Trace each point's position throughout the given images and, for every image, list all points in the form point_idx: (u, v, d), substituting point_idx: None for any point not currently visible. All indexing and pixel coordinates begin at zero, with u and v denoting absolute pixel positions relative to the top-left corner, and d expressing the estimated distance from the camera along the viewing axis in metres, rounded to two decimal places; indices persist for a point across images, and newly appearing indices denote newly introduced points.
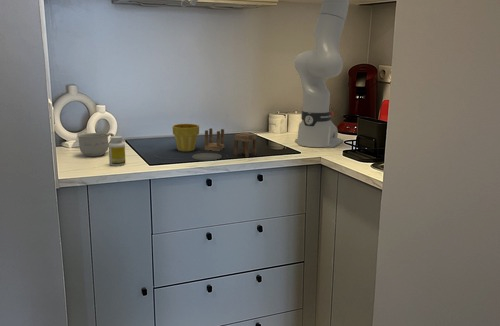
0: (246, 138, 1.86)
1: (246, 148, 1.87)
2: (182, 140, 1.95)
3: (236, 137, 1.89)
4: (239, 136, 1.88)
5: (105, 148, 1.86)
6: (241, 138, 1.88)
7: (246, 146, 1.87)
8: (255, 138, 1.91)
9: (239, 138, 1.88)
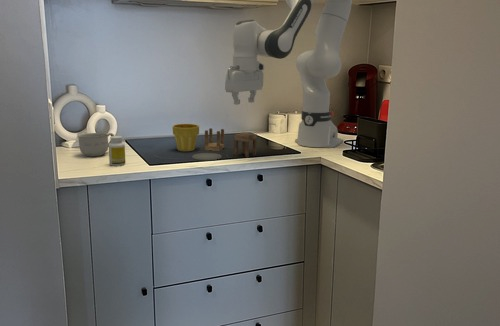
0: (246, 138, 1.86)
1: (246, 148, 1.87)
2: (182, 140, 1.95)
3: (236, 137, 1.89)
4: (239, 136, 1.88)
5: (105, 148, 1.86)
6: (241, 138, 1.88)
7: (246, 146, 1.87)
8: (255, 138, 1.91)
9: (239, 138, 1.88)
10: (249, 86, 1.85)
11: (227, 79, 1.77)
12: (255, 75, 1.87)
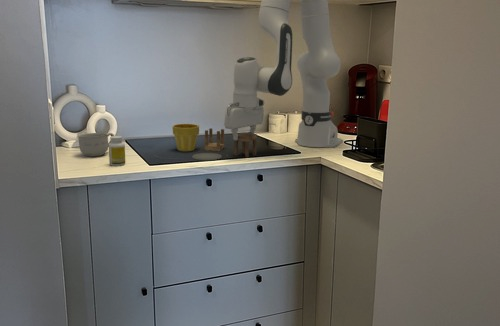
0: (246, 138, 1.86)
1: (246, 148, 1.87)
2: (182, 140, 1.95)
3: None
4: (239, 136, 1.88)
5: (105, 148, 1.86)
6: (241, 138, 1.88)
7: (246, 146, 1.87)
8: (255, 138, 1.91)
9: (239, 138, 1.88)
10: (249, 122, 1.89)
11: (226, 116, 1.81)
12: (255, 111, 1.91)
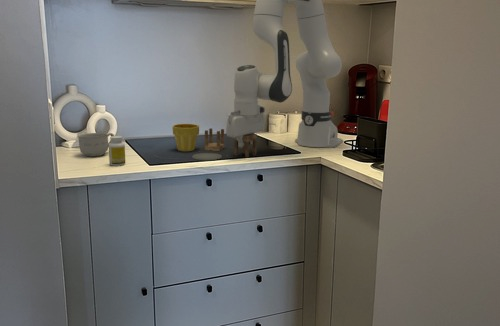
0: (246, 138, 1.86)
1: (246, 148, 1.87)
2: (182, 140, 1.95)
3: None
4: None
5: (105, 148, 1.86)
6: None
7: (246, 146, 1.87)
8: (255, 138, 1.91)
9: None
10: (250, 129, 1.89)
11: (228, 124, 1.82)
12: (256, 118, 1.91)
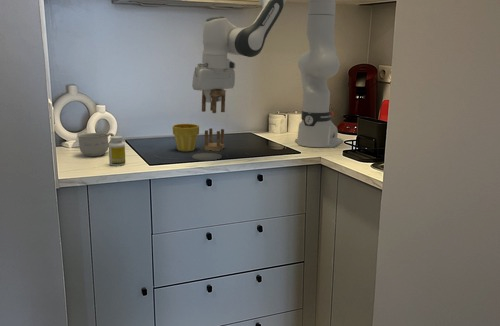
0: (214, 92, 1.78)
1: (213, 103, 1.79)
2: (182, 140, 1.95)
3: None
4: None
5: (105, 148, 1.86)
6: None
7: (214, 101, 1.79)
8: (224, 94, 1.83)
9: None
10: (219, 85, 1.81)
11: (194, 76, 1.74)
12: (225, 73, 1.83)
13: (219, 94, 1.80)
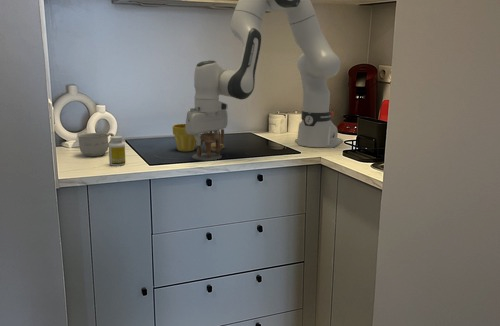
0: (208, 139, 1.82)
1: (208, 149, 1.83)
2: (182, 140, 1.95)
3: None
4: (201, 137, 1.84)
5: (105, 148, 1.86)
6: (203, 139, 1.84)
7: (208, 147, 1.83)
8: (218, 138, 1.86)
9: (201, 139, 1.84)
10: (211, 127, 1.84)
11: (187, 121, 1.77)
12: (218, 115, 1.86)
13: (213, 139, 1.84)
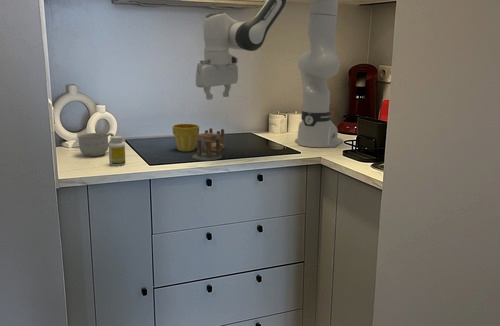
0: (209, 138, 1.83)
1: (208, 149, 1.84)
2: (182, 140, 1.95)
3: (199, 137, 1.85)
4: (201, 136, 1.84)
5: (105, 148, 1.86)
6: (203, 138, 1.84)
7: (208, 147, 1.83)
8: (218, 138, 1.87)
9: (201, 138, 1.85)
10: (222, 80, 1.81)
11: (197, 74, 1.73)
12: (228, 69, 1.83)
13: (214, 139, 1.85)
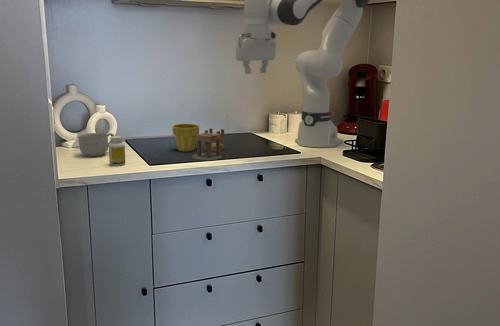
0: (209, 138, 1.83)
1: (208, 149, 1.84)
2: (182, 140, 1.95)
3: (199, 137, 1.85)
4: (201, 136, 1.84)
5: (105, 148, 1.86)
6: (203, 138, 1.84)
7: (208, 147, 1.83)
8: (218, 138, 1.87)
9: (201, 138, 1.85)
10: (261, 55, 1.79)
11: (238, 47, 1.72)
12: (267, 44, 1.81)
13: (214, 139, 1.85)
